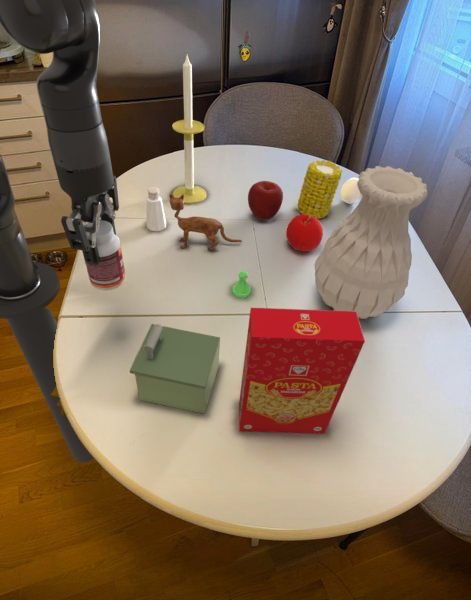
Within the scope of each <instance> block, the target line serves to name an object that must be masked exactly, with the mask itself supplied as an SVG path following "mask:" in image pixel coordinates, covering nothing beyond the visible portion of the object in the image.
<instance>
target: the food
mask: <svg viewBox="0 0 471 600" xmlns="http://www.w3.org/2000/svg"><path fill="white" fill-rule="evenodd" d="M342 174H343V170H342V168H341V167H340V166H339V165H337V164H336V163H335V162H334V163H333V162H332V161H331V160H326V159H323V160H319V159H317V160H315V161H311V162H310V163H309V164H308V167H307V170H306V173H305V176H304V179H303V183H302V186H301V189H300V193H299V198H298V200H297V205H296V206H297V207H296V210H297V211H298V212H299V214H305V215H310V216H313V217H315V218H317V219H318V220H320V219H324V218H326V217H327V216H328V215H329V212H330V210H331V207H332V203H333V201H334V199H335V197H336V193H337V189H338V186H339V184H340V181H341V178H342Z"/></svg>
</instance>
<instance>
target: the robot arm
mask: <svg viewBox="0 0 471 600" xmlns="http://www.w3.org/2000/svg"><path fill="white" fill-rule="evenodd" d="M0 26H1V27H2V28H1V29H3V31H4V32H5V33H6V35H8V36H9V38H10V39H11V40H13V41H14V42H15V43H16V44H17V45H18V46H20V47H22V48H23V49H25V50H27V51H29V52H30V53H34V54H39V55H47V54H51V53H52V60H51V62H50V64H49V65H48V66H47V67H46V68H45V69H44V70H42V72H41V73H40V74H38V77H37V79H36V91H37V95H38V100H39V105H40V107H41V112H42V114H43V118H44V123H45V126H46V134H47V141H48V146H49V150H50V153H51V156H52V161H53V165H54V168H55V172H56V176H57V179H58V184H59V186H60V189H61V190H62V191H63V192H64V193H65V194H66V195H67V196H69V198H70V200H71V206H70V207H71V213H70V214H69V216H64V215H63V216H61V219H60V222H61V225H62V228H63V230H64V234H65V236H66V238H67V240H68V244H69V246H70V249H71V250H76V251H82V255H83V259H84V263H85V262H86V263H88V264H93V265H98V264H99V262H100V258H99V253H98V249H97V244H96V233H97V232H98V231H99V226H100V220H103V221H107V222H109V223H110V224H111V225H112V227H113V231H114V234H115V235H116V236H117V230H116V225H115V219H116V212H118V211H119V209H120V202H119V192H118V183H117V177H116V175H114V172H113V166H112V161H111V160H112V159H111V155H110V148H109V142H108V136H107V134H106V129H105V126H104V123H103V117H102V112H101V105H100V100H99V99H100V98H99V93H98V89H97V83H98V76H99V75H98V74H99V61H100V45H101V23H100V15H99V11H98V7H97V3H96V0H0ZM13 192H14V191H13V189H12V185H11V183H10V178H9V175H8V170H7V167H6V165H5V161H4V158H3V157H2V155H1V153H0V299H1V300H4V301H18V300H22V299H25V298H27V297H29V296H31V295H33V294H34V293H35V292H36V291H37V290H38V289H39V287H40V285H41V279H40V277H39V275H38V273H37V270H38V268H37V266H36V265H35V264H34V262H35V261H34V259H33V256H32V253H31V250H30V248H29V245H28V243H27V240H26V236H25V234H24V231H23V229H22V226H21V224H20V221H19V218H18V215H17V213H16V210H15V205H16V199H15V196H14V193H13ZM111 200H112V201H111ZM86 223H93V226H87V225H85V224H86ZM86 232H89V234H90V238H89V239H88V238H87V235H86ZM36 269H37V270H36Z"/></svg>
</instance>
